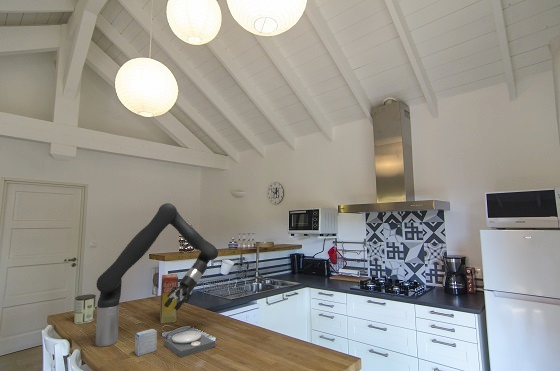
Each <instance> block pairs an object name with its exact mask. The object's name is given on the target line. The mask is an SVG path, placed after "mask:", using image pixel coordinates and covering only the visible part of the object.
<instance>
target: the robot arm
mask: <svg viewBox="0 0 560 371" xmlns="http://www.w3.org/2000/svg"><path fill="white" fill-rule="evenodd" d="M169 225H171V226H172V227H173V228H175V230H176V231H178V233H179V234H180V235H181V236H182V238H183V239H184V240H185V241H186V242H187V243H188V244H189V245H190V246H191V247H192V248H193V249H194V250H197V251H200V253H199V255H198V256H197V258H196V260H195V262H194V263H193V265H191V267H190V269H188V270H187V272H186V273H185V274H184V276H183V277H182V279H180V281H179V285H178V288H177V287H176V286H175V287H174V288H173V289H172V290H171V292H170V293H169V294H168V295H167V297H168V300H167V301H166V303H165V304H164V306H165V307H167V308H168V307H169V305H170V304H171V302H172V301H173V300H174V299H177V304H176V306H175V307H174V309H176V310H177V311H179V310H180V308H181V307H182V305H183V304H188V302H189V301H190V299H191V297H192V296H193V294H194V291H193V290H194V289H195V288H196V286H197V285H198V283H199V281H200V280H201V279H202V276H203V275H204V274H205V272H206V271H207V269H208V264H209V263H210V261H213V260H216V259H217V258H218V256H219V251H218V249H217V248H216V247H215V245H214V244H212V243H211V242H209V241H208V240H206V239H205V238H204V237H203V236H202V235H201V234H200V233H199V232H198V231H197V230H196V229H194V228H193V227H192V226H191V225H190V224H189V223H188V222H187V221H186V220H185V219H184V218H183V216H182V215H181V214H180V213H179V212H178V209H177V207H176V206H175V205H174V204H172V203H163V204H162V205H160V206H159V207H158V210H157V212H156V214H155V215H154V217H153V218H152V219H151V220H150V222H149V223H148V224H146V225H145V226H144V227H143V228H142V229H141V230H140V231H139V232H138V233H137V234H136V235H135V236H134V237H133V238H132V239H131V241H129V243H128V244H127V245H126V246H125V247H124V249H123V250H122V251H121V252H120V254H119V256H118V257H117V259H116V260H115V261H114V262H113V263H111V265H110V266H109V267H108V268H107V269H106V270H105V271H104V272H103V273H102V274H101V275H100V276H99V277H98V278H97V280H96V289H97V290H98V291H99V293H100V294H99V298H98V300H97V305H96V308H97V309H96V323H95V324H96V326H95V328H96V329H95V347H100V348H101V347H107V346H108V347H109V346H112V345H114V344H116V343H118V340H119V339H118V336H119V335H118V334H119V333H118V332H119V314H120V313H119V312H120V300H121V296H122V283H123V282H122V279H123V277H124V275H125V274H126V273H127V272H128V271H129V270H130V269H131V268H132V267H133V266H134V265H136V263H137V262H139V260H141V258H143V256H145V254H146V253H147V252H148V251H149V250H150V248H151V247H152V246H153V244H154V243H155V242H156V240H157V239H158V238H159V236H160V235H161V233H162V232H163V231H164V229H166V228H168V226H169ZM171 294H172V295H171ZM175 294H176V295H175ZM173 296H174V297H173ZM178 298H179V300H178Z"/></svg>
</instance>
